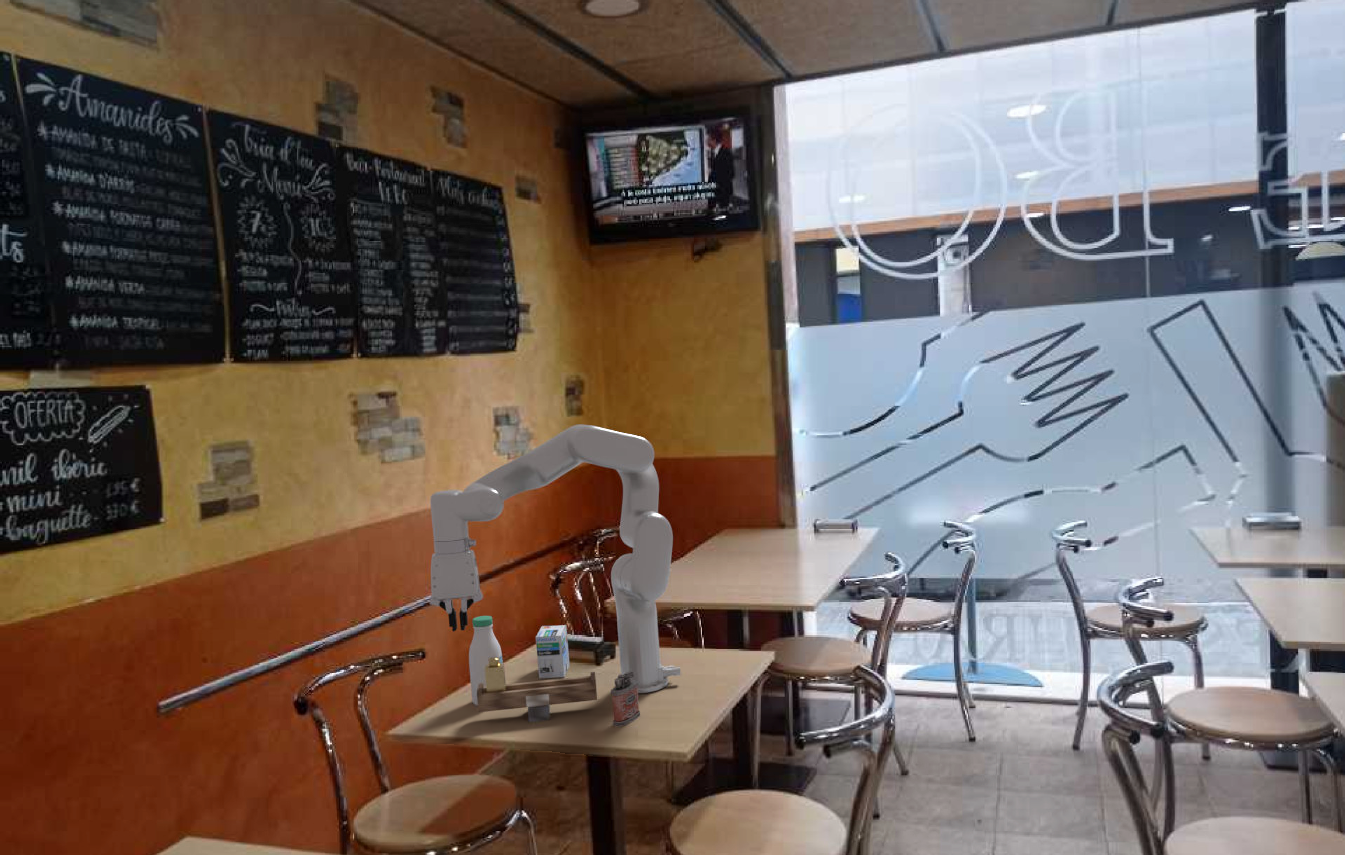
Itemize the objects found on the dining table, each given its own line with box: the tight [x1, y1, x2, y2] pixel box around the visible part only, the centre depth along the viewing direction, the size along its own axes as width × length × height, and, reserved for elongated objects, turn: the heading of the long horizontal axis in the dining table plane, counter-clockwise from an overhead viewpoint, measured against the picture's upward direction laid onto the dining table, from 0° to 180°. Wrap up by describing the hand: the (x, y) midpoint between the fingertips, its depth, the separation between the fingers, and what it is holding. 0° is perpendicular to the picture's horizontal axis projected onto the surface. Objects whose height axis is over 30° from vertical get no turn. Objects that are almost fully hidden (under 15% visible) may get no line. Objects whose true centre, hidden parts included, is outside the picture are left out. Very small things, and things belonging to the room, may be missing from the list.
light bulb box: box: [535, 624, 570, 679], centre depth 253 cm, size 11×7×11 cm, turn 179°
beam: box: [477, 671, 598, 723], centre depth 222 cm, size 26×8×8 cm, turn 96°
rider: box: [485, 657, 506, 693], centre depth 221 cm, size 4×3×8 cm
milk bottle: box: [468, 615, 504, 707], centre depth 234 cm, size 8×8×20 cm
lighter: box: [610, 671, 641, 727], centre depth 215 cm, size 8×3×10 cm, turn 148°
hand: (459, 628), depth 220 cm, fingers closed
